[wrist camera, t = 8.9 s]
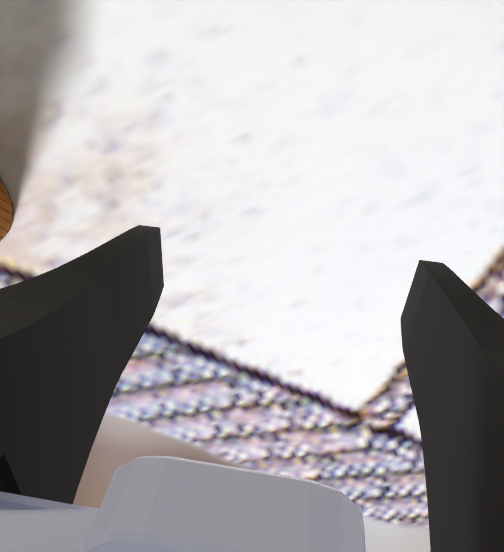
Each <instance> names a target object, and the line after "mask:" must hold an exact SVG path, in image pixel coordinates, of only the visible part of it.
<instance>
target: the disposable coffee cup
mask: <svg viewBox="0 0 504 552" xmlns="http://www.w3.org/2000/svg"><path fill="white" fill-rule="evenodd" d="M12 221H13V209H12V203H11V200H10V197H9V194H8V192H7V189H6V187H5V186H4V184H3V182H2V181H1V179H0V241H1V240H2V239H3V238H4V237H5V236H6V234H7V233H8V232H9V230H10V228H11V225H12Z"/></svg>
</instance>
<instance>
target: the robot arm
mask: <svg viewBox="0 0 504 552" xmlns="http://www.w3.org/2000/svg"><path fill="white" fill-rule="evenodd" d="M163 287H164V282H163V266H162V251H161V235H160V228H158V227H150V226H142V225H139V226H136V227H134V228H132V229H130V230H128V231H126V232H124V233H122V234H121V235H119V236H117V237H115V238H114V239H112V240H110V241H108V242H106V243H104V244H103V245H101V246H99V247H97V248H95V249H94V250H92V251H90V252H88V253H86V254H84V255H82V256H80V257H78V258H76V259H74V260H72V261H70V262H68V263H66V264H64V265H62V266H60V267H58V268H55V269H53V270H51V271H48V272H46V273H44V274H41V275H39V276H36V277H33V278H31V279H28V280H26V281H23V282H20V283H17V284H14V285H11V286H8V287H4V288H1V289H0V552H365V535H364V523H363V515H362V509H360V508H359V507H358V506H357V505H356V504H355V503H354V502H352V501H351V500H350V499H349V498H348V497H347V496H345V495H344V494H343V493H342V492H341V491H339V490H338V489H336V488H333V487H330V486H327V485H324V484H321V483H318V482H315V481H312V480H309V479H303V478H297V477H291V476H285V475H279V474H273V473H267V472H261V471H255V470H249V469H243V468H237V467H231V466H225V465H219V464H213V463H207V462H201V461H195V460H189V459H183V458H177V457H171V456H141V457H138V458H135V459H133V460H132V461H129V462H127V463H125V464H123V465H121V466H119V467H117V468H116V470H115V473H114V475H113V477H112V480H111V482H110V484H109V487H108V489H107V491H106V494H105V496H104V499H103V501H102V503H101V505H100V508H88V507H83V506H77V505H72V504H73V501H74V498H75V495H76V492H77V488H78V485H79V482H80V479H81V477H82V474H83V471H84V468H85V465H86V462H87V459H88V457H89V453H90V451H91V448H92V445H93V443H94V440H95V437H96V434H97V432H98V429H99V427H100V424H101V421H102V419H103V416H104V414H105V411H106V409H107V406H108V404H109V401H110V399H111V396H112V394H113V391H114V389H115V387H116V384H117V382H118V380H119V378H120V376H121V374H122V372H123V370H124V369H125V367H126V365H127V363H128V361H129V359H130V358H131V356H132V354H133V352H134V350H135V348H136V347H137V345H138V343H139V341H140V339H141V337H142V336H143V334H144V332H145V330H146V328H147V326H148V324H149V322H150V321H151V319H152V317H153V315H154V312H155V310H156V307H157V304H158V302H159V299H160V296H161V293H162V290H163ZM401 333H402V346H403V353H404V358H405V362H406V367H407V371H408V376H409V380H410V384H411V389H412V393H413V398H414V402H415V406H416V411H417V415H418V420H419V425H420V431H421V438H422V447H423V457H424V466H425V477H426V489H427V500H428V515H429V531H430V545H431V552H504V318H502V317H501V316H500V315H499V314H498V313H497V312H495V311H494V310H493V309H492V308H491V307H490V306H489V305H488V304H487V303H485V302H484V301H483V300H482V299H481V298H480V297H479V296H478V295H477V294H476V293H475V292H474V291H473V290H472V289H471V288H470V287H468V286H467V285H466V284H465V283H464V282H463V281H462V280H461V279H460V278H459V277H458V276H457V275H456V274H455V273H454V272H453V271H452V270H451V269H449V268H448V267H447V266H446V265H445V264H443V263H439V262H431V261H423V260H419V263H418V266H417V269H416V272H415V276H414V279H413V282H412V285H411V288H410V291H409V294H408V297H407V300H406V303H405V307H404V310H403V313H402V316H401Z"/></svg>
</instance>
